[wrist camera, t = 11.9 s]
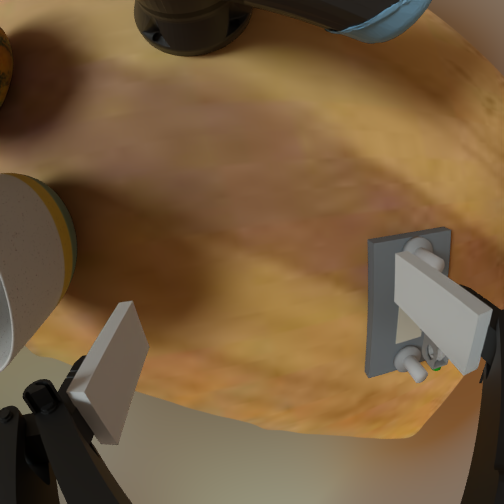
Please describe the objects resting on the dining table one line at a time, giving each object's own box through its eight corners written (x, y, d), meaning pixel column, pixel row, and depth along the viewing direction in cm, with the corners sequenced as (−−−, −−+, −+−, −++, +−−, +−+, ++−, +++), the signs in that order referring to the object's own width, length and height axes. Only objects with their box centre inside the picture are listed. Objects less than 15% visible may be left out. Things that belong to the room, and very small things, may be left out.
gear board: (367, 239, 43) (394, 257, 35) (443, 226, 43) (475, 240, 35) (364, 371, 50) (381, 400, 42) (430, 351, 50) (451, 375, 43)
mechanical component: (422, 278, 43) (460, 306, 33) (416, 334, 46) (447, 368, 36) (406, 281, 43) (443, 312, 33) (401, 338, 46) (430, 374, 36)
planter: (69, 141, 35) (-41, 145, 15) (120, 271, 41) (51, 362, 21) (-16, 198, 36) (-111, 234, 16) (29, 306, 42) (-43, 382, 22)
